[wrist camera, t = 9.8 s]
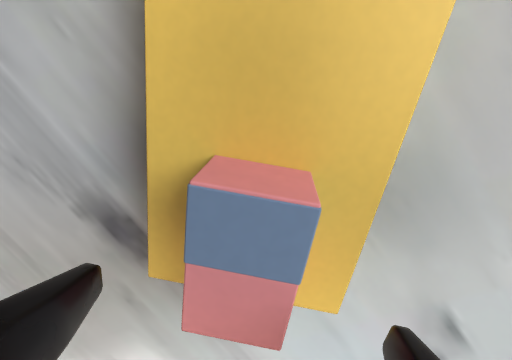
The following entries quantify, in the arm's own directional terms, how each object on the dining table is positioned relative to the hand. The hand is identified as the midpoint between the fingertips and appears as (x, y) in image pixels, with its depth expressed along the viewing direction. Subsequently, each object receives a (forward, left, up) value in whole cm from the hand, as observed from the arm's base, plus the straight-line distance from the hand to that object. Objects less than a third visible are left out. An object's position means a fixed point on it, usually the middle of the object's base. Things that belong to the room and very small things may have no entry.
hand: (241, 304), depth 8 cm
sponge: (0, +4, -8) cm, 9 cm away
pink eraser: (0, 0, -4) cm, 4 cm away
